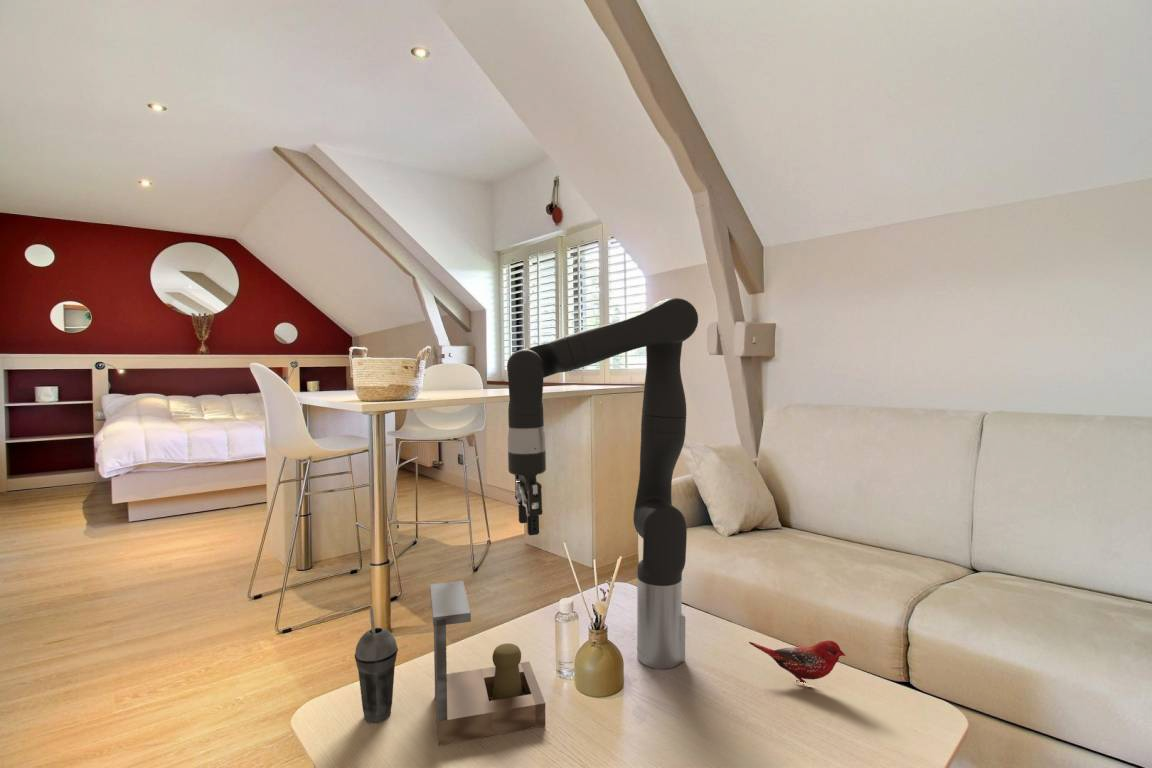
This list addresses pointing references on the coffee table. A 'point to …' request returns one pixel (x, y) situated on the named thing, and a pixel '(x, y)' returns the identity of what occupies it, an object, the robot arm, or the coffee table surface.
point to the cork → (506, 672)
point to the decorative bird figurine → (806, 659)
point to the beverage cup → (376, 672)
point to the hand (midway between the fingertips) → (528, 528)
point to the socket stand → (475, 682)
